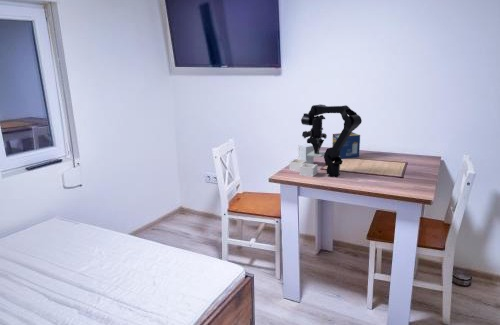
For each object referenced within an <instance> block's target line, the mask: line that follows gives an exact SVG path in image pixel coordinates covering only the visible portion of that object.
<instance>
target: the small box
mask: <svg viewBox="0 0 500 325" xmlns="http://www.w3.org/2000/svg"><path fill="white" fill-rule="evenodd" d="M297 147H298V148H297V149H298V150H297V151H298V152H297V154H298V156H297V159H300V160H307V164H314V157H315V156H307V154H309V153H310V152H312V151H314V148H313V145H312V144H309V143H303V144H299V145H298V146H297Z"/></svg>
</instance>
